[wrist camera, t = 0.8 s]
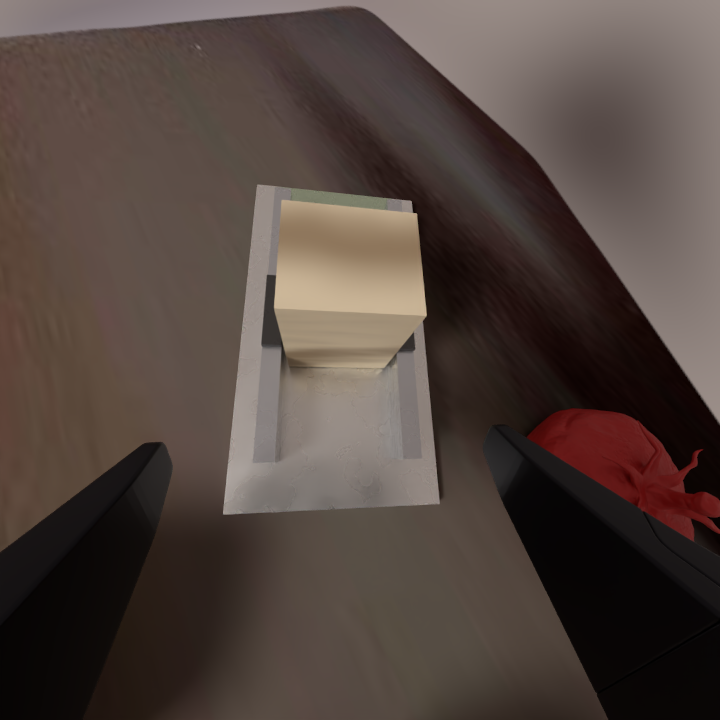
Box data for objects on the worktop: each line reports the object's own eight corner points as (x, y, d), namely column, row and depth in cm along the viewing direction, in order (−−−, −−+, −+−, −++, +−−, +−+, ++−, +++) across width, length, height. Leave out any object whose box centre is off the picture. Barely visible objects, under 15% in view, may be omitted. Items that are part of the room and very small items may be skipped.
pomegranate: (524, 392, 25) (640, 357, 16) (628, 464, 24) (807, 468, 16) (472, 501, 22) (581, 532, 13) (591, 588, 21) (791, 682, 12)
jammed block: (383, 368, 23) (426, 315, 14) (288, 366, 22) (274, 308, 13) (380, 297, 25) (416, 213, 16) (292, 292, 23) (281, 199, 15)
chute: (436, 502, 21) (461, 512, 18) (225, 512, 19) (205, 525, 15) (409, 206, 29) (423, 170, 25) (258, 190, 27) (250, 149, 23)
